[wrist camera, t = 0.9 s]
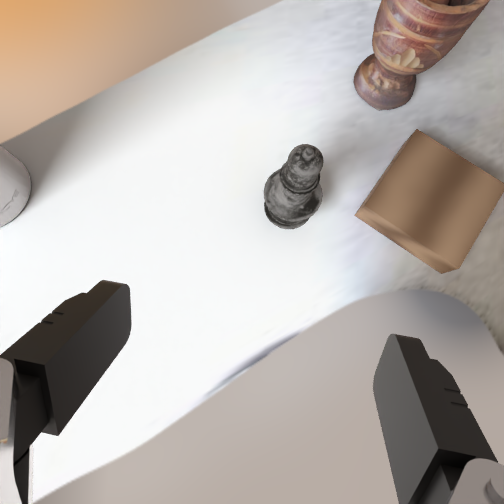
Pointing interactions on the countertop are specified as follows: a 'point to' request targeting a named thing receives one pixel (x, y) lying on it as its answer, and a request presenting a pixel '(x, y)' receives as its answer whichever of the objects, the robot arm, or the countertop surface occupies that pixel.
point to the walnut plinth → (431, 202)
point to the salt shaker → (295, 188)
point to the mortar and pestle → (410, 46)
